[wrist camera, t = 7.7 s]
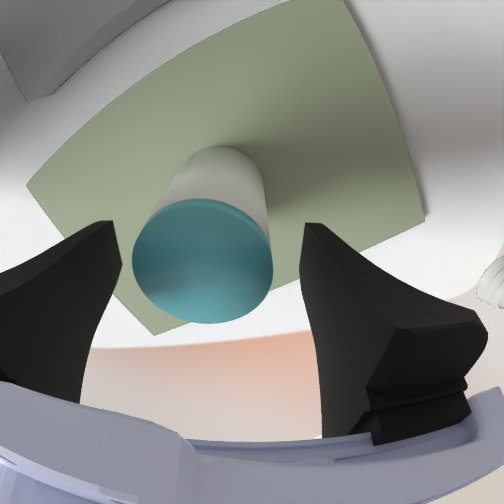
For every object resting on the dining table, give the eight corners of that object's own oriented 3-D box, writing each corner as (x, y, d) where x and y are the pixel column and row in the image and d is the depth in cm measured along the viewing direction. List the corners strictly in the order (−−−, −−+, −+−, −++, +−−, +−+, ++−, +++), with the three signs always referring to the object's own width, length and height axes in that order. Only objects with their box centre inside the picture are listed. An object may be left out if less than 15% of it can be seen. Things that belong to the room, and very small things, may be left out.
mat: (156, 329, 22) (154, 335, 21) (30, 181, 15) (25, 185, 14) (420, 216, 17) (425, 221, 16) (331, -11, 10) (334, -14, 9)
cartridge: (263, 225, 16) (272, 322, 10) (182, 228, 16) (149, 322, 10) (263, 144, 14) (274, 204, 8) (171, 149, 14) (117, 212, 8)
